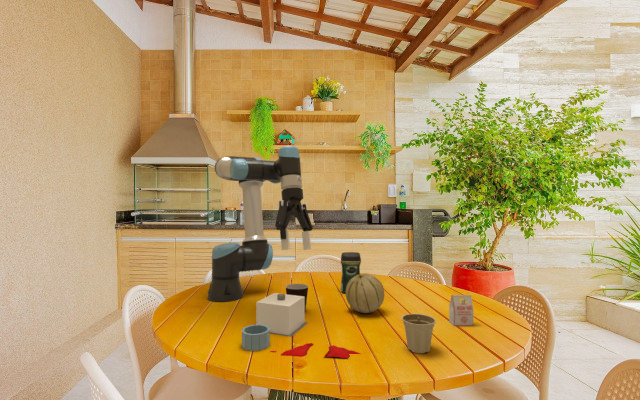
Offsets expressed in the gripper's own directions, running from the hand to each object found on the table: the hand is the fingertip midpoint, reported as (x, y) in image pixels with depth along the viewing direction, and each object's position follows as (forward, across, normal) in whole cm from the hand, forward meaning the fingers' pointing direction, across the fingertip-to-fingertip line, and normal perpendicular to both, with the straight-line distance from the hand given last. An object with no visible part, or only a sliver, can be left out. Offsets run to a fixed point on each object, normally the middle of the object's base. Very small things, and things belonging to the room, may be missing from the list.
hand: (297, 249), depth 115 cm
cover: (+24, -2, +8) cm, 26 cm away
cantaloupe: (+25, +27, -11) cm, 39 cm away
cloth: (+31, -12, -10) cm, 34 cm away
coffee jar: (+20, +51, +5) cm, 55 cm away
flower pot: (+32, +4, -35) cm, 48 cm away
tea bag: (+31, +32, -44) cm, 62 cm away
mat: (+25, -2, +8) cm, 26 cm away
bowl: (+27, -17, +6) cm, 33 cm away
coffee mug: (+23, +15, +12) cm, 30 cm away
